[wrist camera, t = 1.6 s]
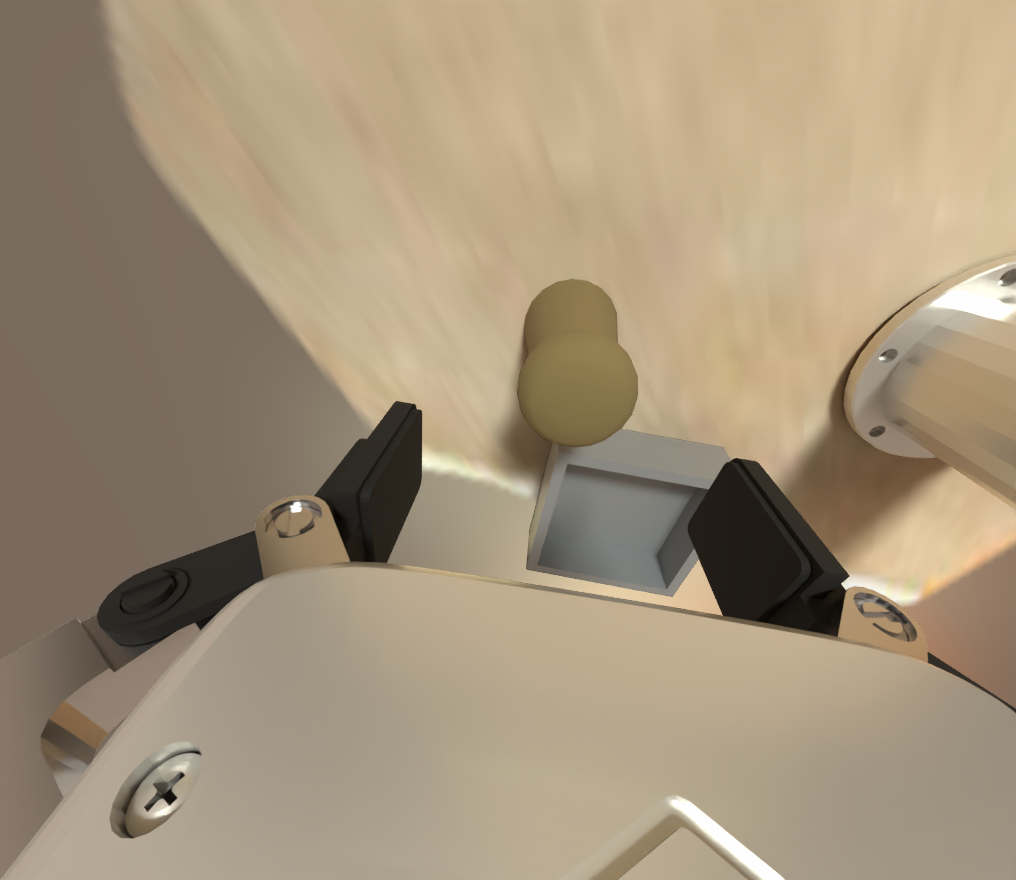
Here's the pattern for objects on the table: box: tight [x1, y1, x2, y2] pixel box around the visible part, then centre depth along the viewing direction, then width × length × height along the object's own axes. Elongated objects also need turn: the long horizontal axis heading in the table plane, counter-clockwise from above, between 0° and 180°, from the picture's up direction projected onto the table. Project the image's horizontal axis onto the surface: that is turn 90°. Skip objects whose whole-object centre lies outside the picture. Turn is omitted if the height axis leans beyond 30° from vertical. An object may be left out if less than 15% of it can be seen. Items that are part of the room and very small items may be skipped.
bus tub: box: [526, 429, 731, 597], centre depth 29 cm, size 13×13×4 cm
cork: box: [517, 279, 638, 447], centre depth 19 cm, size 6×6×11 cm
